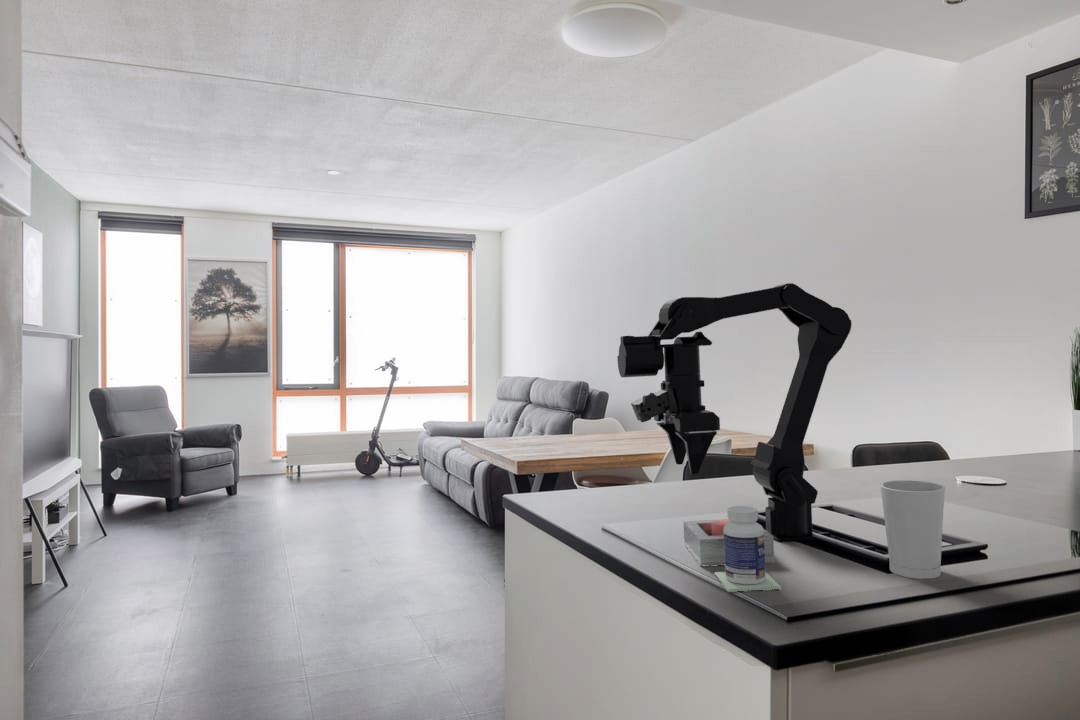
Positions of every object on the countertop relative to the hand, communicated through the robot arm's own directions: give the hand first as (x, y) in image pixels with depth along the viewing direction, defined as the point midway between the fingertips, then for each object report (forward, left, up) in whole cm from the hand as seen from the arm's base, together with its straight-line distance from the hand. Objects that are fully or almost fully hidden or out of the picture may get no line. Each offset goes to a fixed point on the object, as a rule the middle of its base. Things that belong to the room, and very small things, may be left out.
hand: (686, 468), depth 116 cm
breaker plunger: (-4, +6, -11) cm, 13 cm away
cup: (-27, +18, -13) cm, 35 cm away
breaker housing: (-4, +6, -12) cm, 15 cm away
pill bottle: (-3, +19, -12) cm, 23 cm away
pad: (-3, +19, -12) cm, 23 cm away
